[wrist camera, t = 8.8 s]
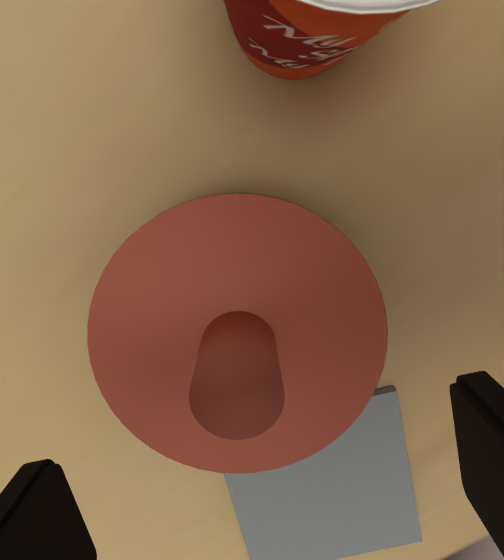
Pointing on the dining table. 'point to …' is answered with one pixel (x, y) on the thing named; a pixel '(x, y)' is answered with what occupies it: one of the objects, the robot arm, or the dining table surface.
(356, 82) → the dining table surface
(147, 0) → the dining table surface
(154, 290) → the lid
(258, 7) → the coffee cup
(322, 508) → the mat
